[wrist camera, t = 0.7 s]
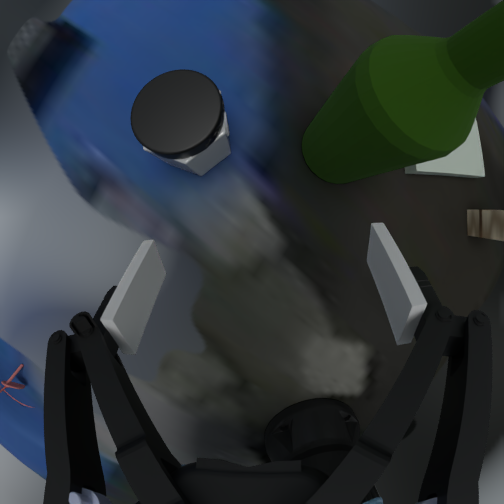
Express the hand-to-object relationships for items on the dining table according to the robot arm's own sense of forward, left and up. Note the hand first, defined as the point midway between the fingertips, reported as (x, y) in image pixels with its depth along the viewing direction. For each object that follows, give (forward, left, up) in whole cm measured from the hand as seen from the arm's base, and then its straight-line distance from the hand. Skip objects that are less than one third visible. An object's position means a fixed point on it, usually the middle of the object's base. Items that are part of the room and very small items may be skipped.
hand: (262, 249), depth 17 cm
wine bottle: (+10, -11, -18) cm, 23 cm away
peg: (0, -35, -18) cm, 39 cm away
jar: (+12, +6, -18) cm, 22 cm away
